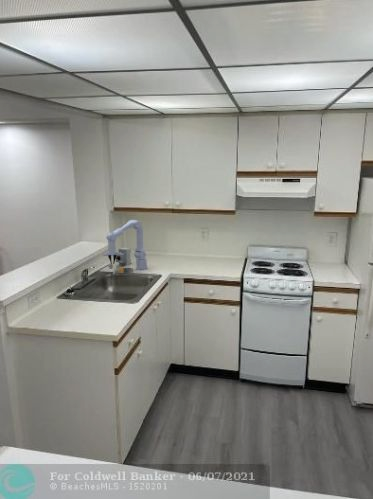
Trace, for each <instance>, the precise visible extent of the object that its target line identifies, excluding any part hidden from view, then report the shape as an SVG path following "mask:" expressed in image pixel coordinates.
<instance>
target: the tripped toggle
mask: <svg viewBox="0 0 373 499" xmlns="http://www.w3.org/2000/svg"><path fill="white" fill-rule="evenodd" d="M124 268H125V267H124V266H120V267H119V273H124Z"/></svg>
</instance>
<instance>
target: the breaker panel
mask: <svg viewBox="0 0 373 499" xmlns="http://www.w3.org/2000/svg"><path fill="white" fill-rule="evenodd" d="M115 266H116V267H115V268H114V269H113V272H112V276H113V277H114V276H118V277H119V276H133V273H134V272H133V271H134V267H124V273H119V267H121V265H119V264H116V265H115Z"/></svg>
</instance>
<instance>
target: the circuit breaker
mask: <svg viewBox="0 0 373 499" xmlns="http://www.w3.org/2000/svg"><path fill="white" fill-rule="evenodd" d="M118 252H121V255H116V256H117V257H116V259H115V262H116V263H118V265H120V266H122V267H124V266H125V267H127V266H129V265H132V259H131V247H126V246H125V247H121V248H118Z"/></svg>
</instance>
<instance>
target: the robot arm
mask: <svg viewBox="0 0 373 499" xmlns="http://www.w3.org/2000/svg"><path fill="white" fill-rule="evenodd" d="M129 228H133V229H135V232H136V248H134V257H135V265H136V266H135V269H136V270H147V269H148V264H147V263H148V262H147V261H148V260H147V253H146V249H144V235H143V234H144V232H143V231H144V227H143V225H142V221H140V220H137V219H129V220H128V221H127V223H126V224H124V225H123V226H122V227H119V228H118V227H116V229H115V230H113V231H112V232H108V234H107V235H106V236H105V238H106V240H107V244H108V245H107V247H108V252H103V253H102V255H103V257H108V260H109V261H110V265H112V264H113V265H115V264H116V263H115V262H116V257H117V256H116V255H121V252H119V251H118V252H116V251H117V250H116V240H117V239H118V237H120V236H122V235H123V232H125V231H126V230H128V229H129ZM112 257H113V258H112ZM112 259H113V261H112Z"/></svg>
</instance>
